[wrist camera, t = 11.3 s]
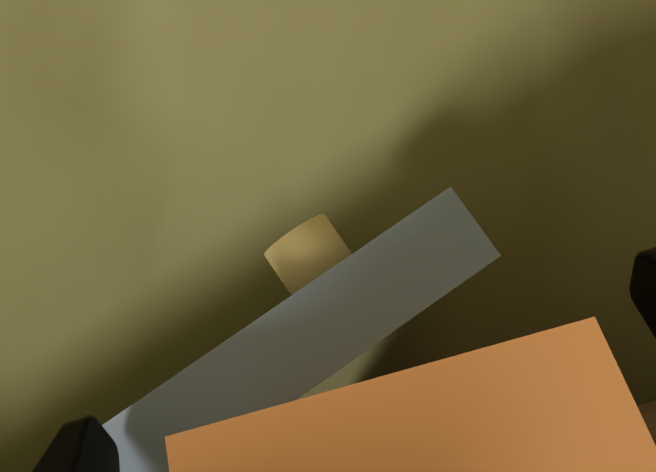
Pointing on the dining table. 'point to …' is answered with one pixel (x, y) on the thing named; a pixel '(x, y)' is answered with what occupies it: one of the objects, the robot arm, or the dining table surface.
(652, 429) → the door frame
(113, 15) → the dining table surface
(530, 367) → the tan rectangular slab
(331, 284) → the door
